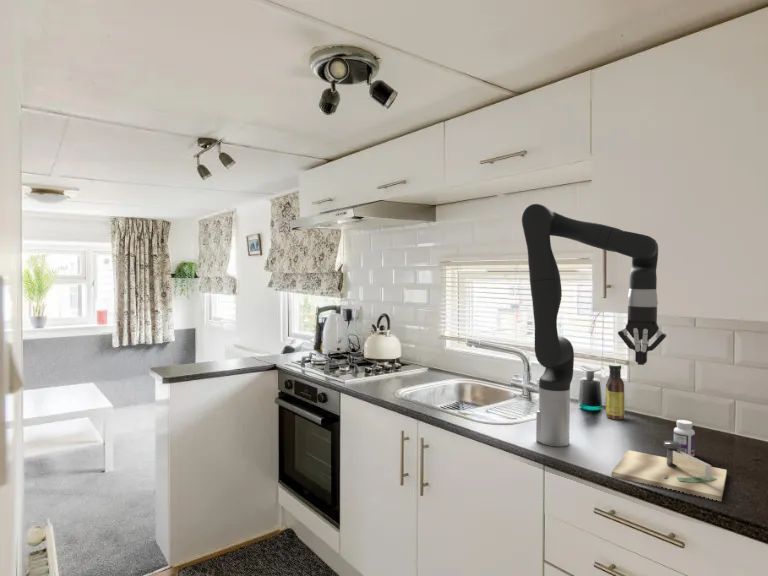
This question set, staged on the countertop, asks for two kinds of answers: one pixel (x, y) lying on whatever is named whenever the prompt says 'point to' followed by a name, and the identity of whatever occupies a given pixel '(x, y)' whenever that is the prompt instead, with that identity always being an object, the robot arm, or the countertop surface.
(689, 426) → the pill bottle
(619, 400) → the sauce bottle
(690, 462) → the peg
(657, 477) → the board
